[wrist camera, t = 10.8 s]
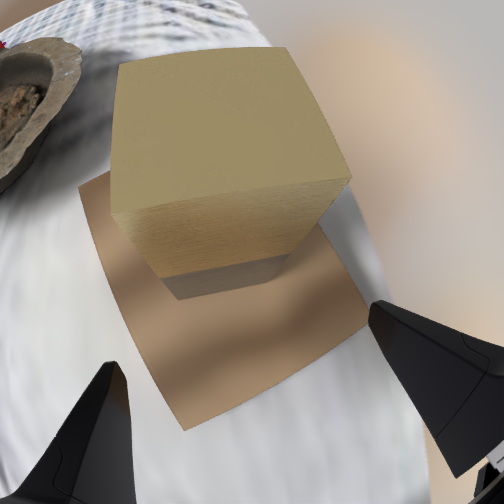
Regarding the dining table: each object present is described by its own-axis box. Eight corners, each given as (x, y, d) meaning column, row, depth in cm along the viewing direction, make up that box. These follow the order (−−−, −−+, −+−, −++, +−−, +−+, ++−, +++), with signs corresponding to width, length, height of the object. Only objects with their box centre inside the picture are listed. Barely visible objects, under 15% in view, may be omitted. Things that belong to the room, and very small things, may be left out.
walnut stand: (357, 322, 20) (373, 318, 18) (187, 420, 17) (184, 431, 14) (241, 136, 24) (244, 117, 22) (89, 202, 21) (77, 187, 18)
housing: (267, 282, 18) (351, 177, 7) (178, 300, 17) (110, 214, 6) (247, 202, 19) (285, 47, 8) (165, 216, 18) (119, 64, 7)
